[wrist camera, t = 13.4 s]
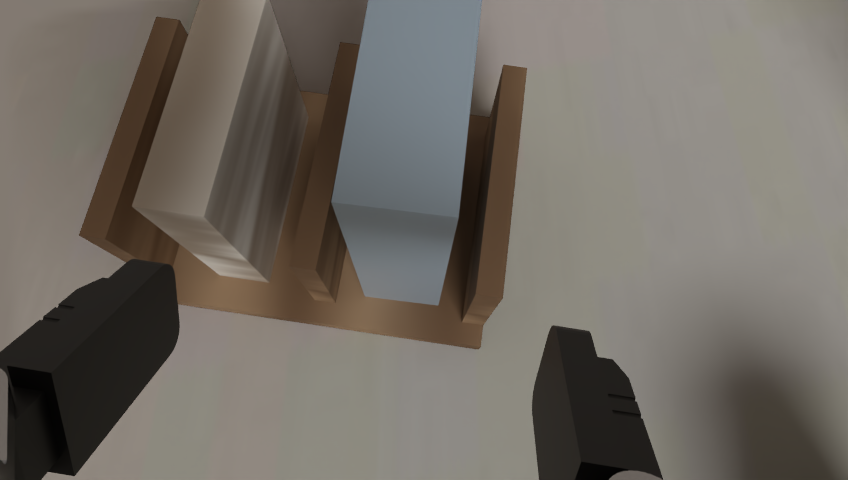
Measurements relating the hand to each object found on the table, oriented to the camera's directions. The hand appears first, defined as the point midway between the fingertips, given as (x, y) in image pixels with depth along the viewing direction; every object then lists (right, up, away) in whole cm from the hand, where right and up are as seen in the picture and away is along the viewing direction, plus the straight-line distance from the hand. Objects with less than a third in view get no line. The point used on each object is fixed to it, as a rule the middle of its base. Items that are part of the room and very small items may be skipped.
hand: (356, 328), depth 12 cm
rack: (-3, +3, +17) cm, 18 cm away
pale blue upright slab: (+1, +3, +16) cm, 16 cm away
